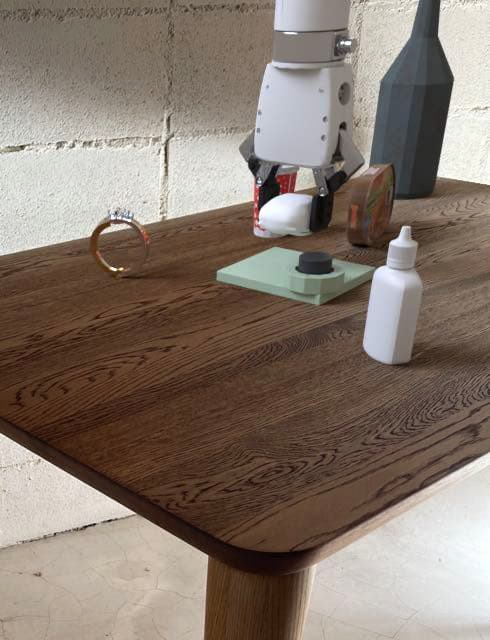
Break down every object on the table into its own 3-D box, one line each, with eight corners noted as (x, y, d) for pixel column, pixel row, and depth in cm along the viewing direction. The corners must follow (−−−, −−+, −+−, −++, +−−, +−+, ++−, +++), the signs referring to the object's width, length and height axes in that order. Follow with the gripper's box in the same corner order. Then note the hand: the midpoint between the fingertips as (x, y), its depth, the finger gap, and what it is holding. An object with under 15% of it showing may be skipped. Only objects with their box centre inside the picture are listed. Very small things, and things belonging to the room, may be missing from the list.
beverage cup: (272, 224, 122) (281, 114, 114) (303, 234, 117) (314, 120, 109) (238, 232, 119) (245, 120, 111) (268, 242, 115) (277, 127, 107)
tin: (363, 254, 109) (372, 183, 104) (338, 251, 111) (346, 181, 106) (392, 223, 120) (402, 157, 115) (369, 221, 121) (378, 156, 116)
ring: (151, 276, 106) (151, 207, 101) (142, 284, 103) (141, 214, 99) (98, 270, 108) (96, 204, 104) (88, 278, 106) (85, 210, 101)
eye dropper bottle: (408, 345, 85) (431, 219, 78) (409, 368, 81) (433, 237, 74) (362, 342, 86) (381, 217, 80) (360, 364, 82) (380, 235, 75)
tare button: (337, 271, 96) (339, 255, 95) (319, 279, 94) (321, 263, 93) (309, 264, 99) (310, 249, 98) (291, 273, 97) (292, 257, 96)
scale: (380, 278, 101) (384, 253, 100) (321, 309, 94) (324, 282, 92) (274, 255, 110) (276, 231, 108) (212, 282, 103) (213, 257, 101)
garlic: (287, 216, 106) (290, 184, 104) (336, 226, 102) (340, 192, 100) (247, 231, 102) (249, 198, 99) (296, 242, 97) (300, 206, 95)
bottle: (353, 194, 133) (384, -41, 116) (381, 180, 139) (414, -45, 122) (419, 202, 128) (461, -43, 111) (445, 188, 134) (489, -47, 117)
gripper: (402, 48, 88) (376, 229, 98) (260, 42, 98) (250, 207, 109) (364, 57, 84) (341, 245, 94) (220, 49, 94) (213, 220, 104)
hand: (292, 223), depth 101 cm, fingers closed on garlic, 6 cm apart
